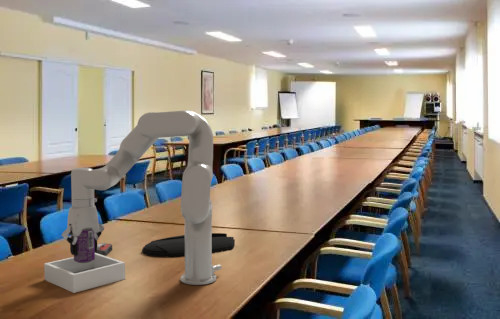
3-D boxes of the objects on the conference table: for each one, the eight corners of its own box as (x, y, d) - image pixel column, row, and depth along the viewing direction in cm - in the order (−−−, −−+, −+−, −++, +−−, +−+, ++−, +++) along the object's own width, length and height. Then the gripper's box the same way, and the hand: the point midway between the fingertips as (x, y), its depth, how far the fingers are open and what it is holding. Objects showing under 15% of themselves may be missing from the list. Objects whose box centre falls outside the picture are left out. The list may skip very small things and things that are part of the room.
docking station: (135, 247, 236) (134, 236, 236) (219, 238, 254) (219, 228, 254) (150, 262, 214) (150, 249, 214) (242, 250, 232) (242, 239, 232)
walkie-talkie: (93, 249, 233) (78, 262, 213) (93, 239, 233) (77, 251, 213) (113, 249, 233) (100, 262, 213) (113, 239, 232) (99, 252, 213)
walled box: (94, 267, 205) (94, 252, 204) (125, 278, 191) (124, 262, 191) (44, 279, 190) (44, 263, 190) (73, 292, 177) (73, 275, 176)
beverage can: (94, 257, 195) (93, 225, 194) (95, 263, 188) (94, 229, 187) (73, 259, 193) (73, 226, 191) (74, 264, 186) (73, 230, 185)
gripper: (99, 199, 197) (99, 246, 199) (54, 204, 184) (55, 255, 186) (110, 201, 192) (111, 250, 194) (65, 207, 179) (66, 259, 181)
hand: (84, 252), depth 190 cm, fingers closed on beverage can, 7 cm apart
